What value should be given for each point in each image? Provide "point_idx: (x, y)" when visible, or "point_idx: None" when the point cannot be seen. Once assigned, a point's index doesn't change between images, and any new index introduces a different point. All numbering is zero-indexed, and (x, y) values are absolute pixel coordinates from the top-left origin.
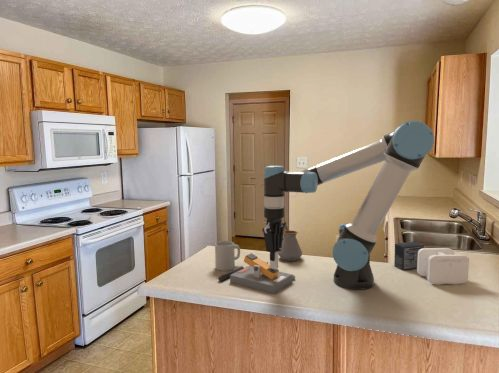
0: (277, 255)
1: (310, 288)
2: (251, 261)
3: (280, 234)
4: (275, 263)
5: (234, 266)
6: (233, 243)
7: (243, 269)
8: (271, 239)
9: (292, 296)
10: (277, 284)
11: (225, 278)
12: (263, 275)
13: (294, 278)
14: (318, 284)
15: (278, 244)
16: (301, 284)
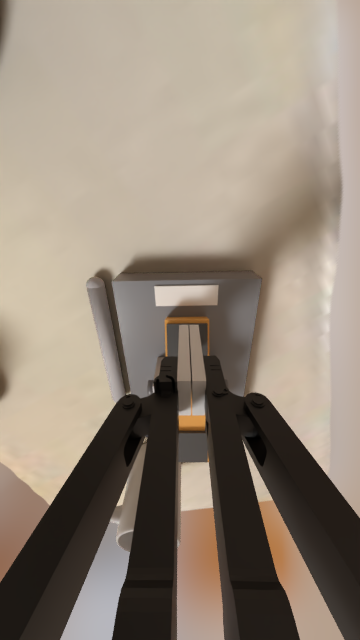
0: (186, 364)
1: (126, 173)
2: None
3: (80, 538)
4: (200, 342)
5: (145, 446)
6: (125, 531)
7: None
8: (329, 521)
9: (240, 198)
10: (231, 278)
11: None
12: None
13: (97, 277)
14: (65, 163)
15: (165, 427)
16: (116, 230)
